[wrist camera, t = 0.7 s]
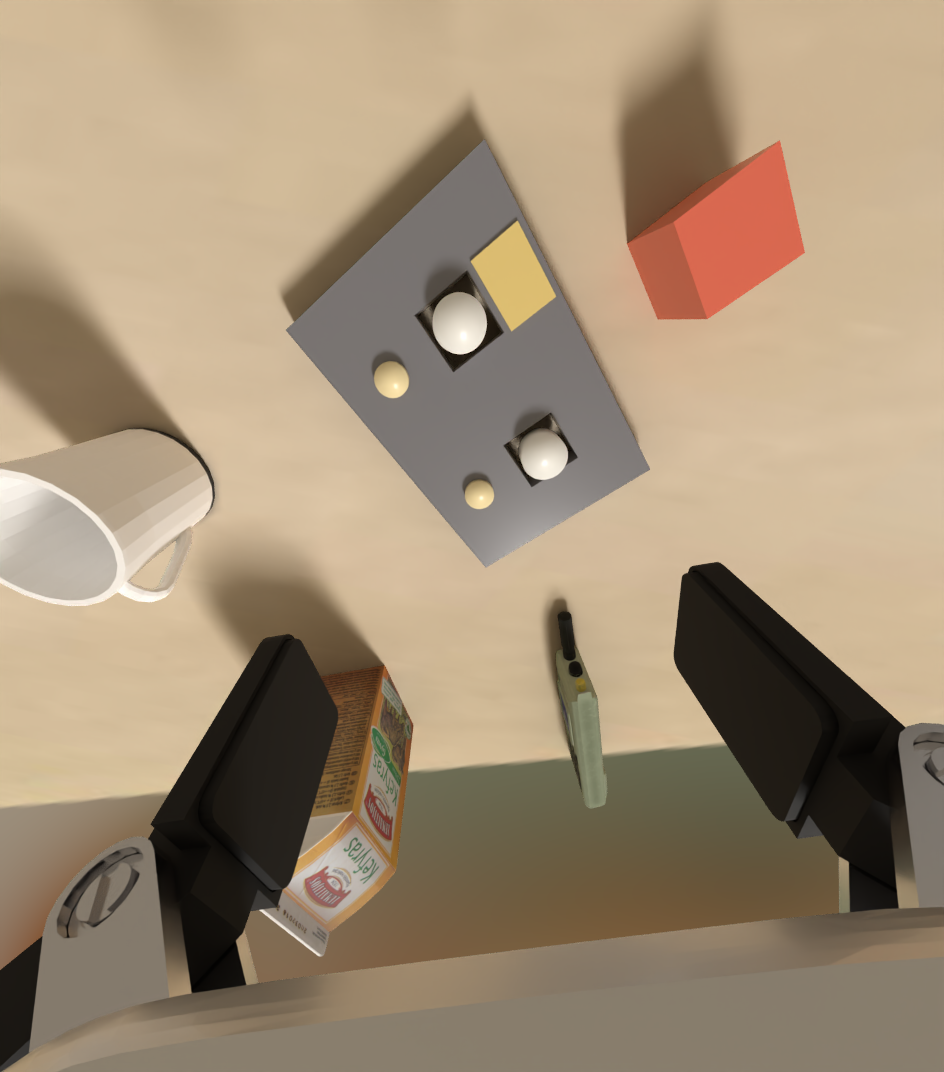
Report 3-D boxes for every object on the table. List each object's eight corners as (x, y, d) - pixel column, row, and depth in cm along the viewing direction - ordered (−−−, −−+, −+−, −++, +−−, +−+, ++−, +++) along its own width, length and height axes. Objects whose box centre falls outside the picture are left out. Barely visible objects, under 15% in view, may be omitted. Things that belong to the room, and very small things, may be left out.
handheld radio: (566, 753, 50) (543, 609, 38) (591, 749, 50) (576, 603, 38) (582, 810, 44) (561, 661, 32) (611, 805, 44) (600, 653, 32)
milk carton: (292, 681, 42) (183, 915, 26) (384, 665, 41) (332, 896, 25) (331, 738, 47) (260, 964, 31) (413, 725, 46) (386, 950, 30)
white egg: (547, 418, 27) (553, 425, 26) (569, 454, 29) (576, 463, 27) (509, 444, 28) (513, 453, 26) (532, 478, 30) (536, 488, 28)
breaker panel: (482, 153, 22) (485, 134, 19) (639, 460, 31) (653, 471, 28) (297, 329, 26) (281, 330, 23) (484, 555, 35) (486, 571, 32)
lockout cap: (705, 182, 22) (780, 140, 17) (731, 267, 25) (804, 252, 19) (626, 243, 24) (673, 222, 19) (657, 319, 26) (707, 318, 21)
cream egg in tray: (465, 281, 23) (465, 278, 21) (494, 330, 25) (497, 331, 23) (424, 317, 24) (421, 316, 22) (454, 362, 25) (454, 365, 24)
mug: (77, 470, 30) (-87, 533, 21) (138, 395, 27) (-19, 432, 18) (203, 561, 34) (111, 646, 25) (266, 504, 32) (188, 576, 23)
